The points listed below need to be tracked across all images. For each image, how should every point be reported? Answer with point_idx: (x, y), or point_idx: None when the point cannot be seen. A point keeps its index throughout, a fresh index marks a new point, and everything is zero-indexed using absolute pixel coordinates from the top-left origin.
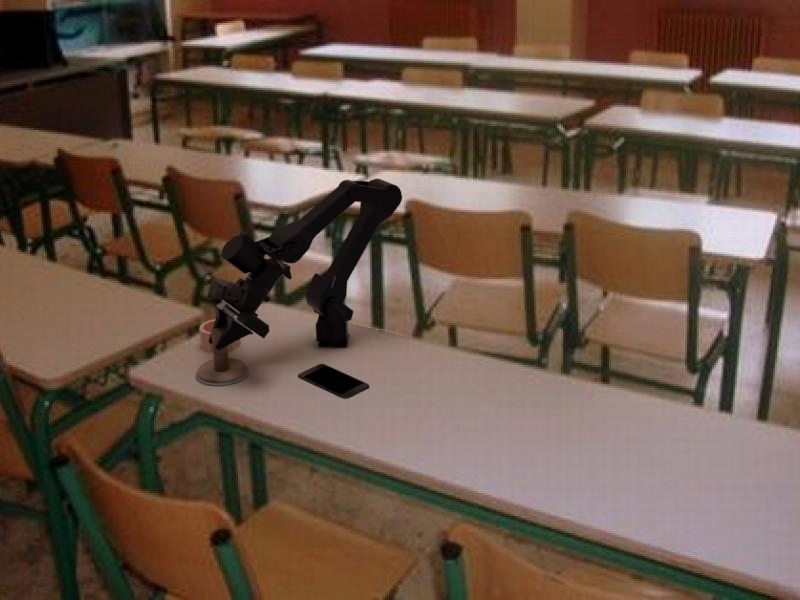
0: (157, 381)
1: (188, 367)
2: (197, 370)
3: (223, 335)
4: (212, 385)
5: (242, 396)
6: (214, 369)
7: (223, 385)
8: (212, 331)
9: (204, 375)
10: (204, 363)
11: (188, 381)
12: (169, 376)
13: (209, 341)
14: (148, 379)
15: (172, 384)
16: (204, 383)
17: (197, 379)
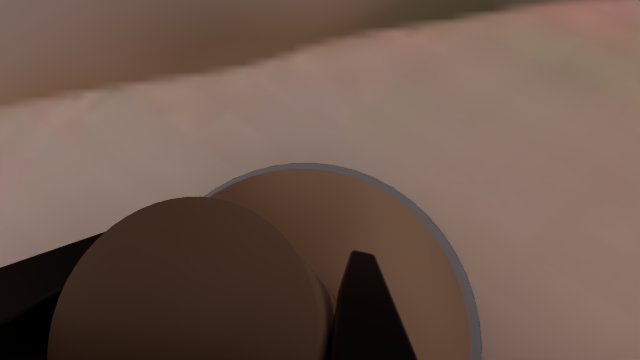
0: (498, 26)
1: (543, 234)
2: (439, 230)
3: (1, 281)
4: (221, 188)
5: (3, 230)
6: (325, 285)
7: None
8: (245, 235)
9: (304, 188)
10: (457, 294)
11: (374, 133)
12: (508, 95)
13: (350, 253)
14: (554, 7)
15: (408, 60)
16: (270, 167)
17: (342, 168)
